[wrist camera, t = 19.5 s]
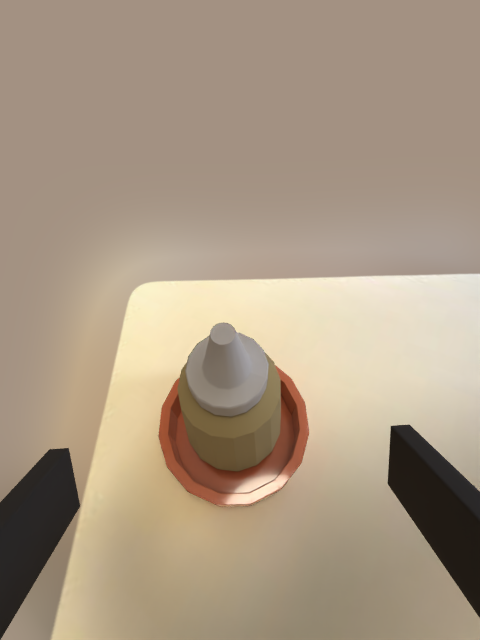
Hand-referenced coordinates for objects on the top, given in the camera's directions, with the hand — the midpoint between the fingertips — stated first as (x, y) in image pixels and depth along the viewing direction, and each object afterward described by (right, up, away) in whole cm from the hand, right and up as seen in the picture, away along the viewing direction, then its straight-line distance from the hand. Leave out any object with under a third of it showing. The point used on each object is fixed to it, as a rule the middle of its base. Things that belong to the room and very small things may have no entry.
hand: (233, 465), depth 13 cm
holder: (0, -5, +17) cm, 18 cm away
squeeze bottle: (0, -4, +17) cm, 17 cm away
